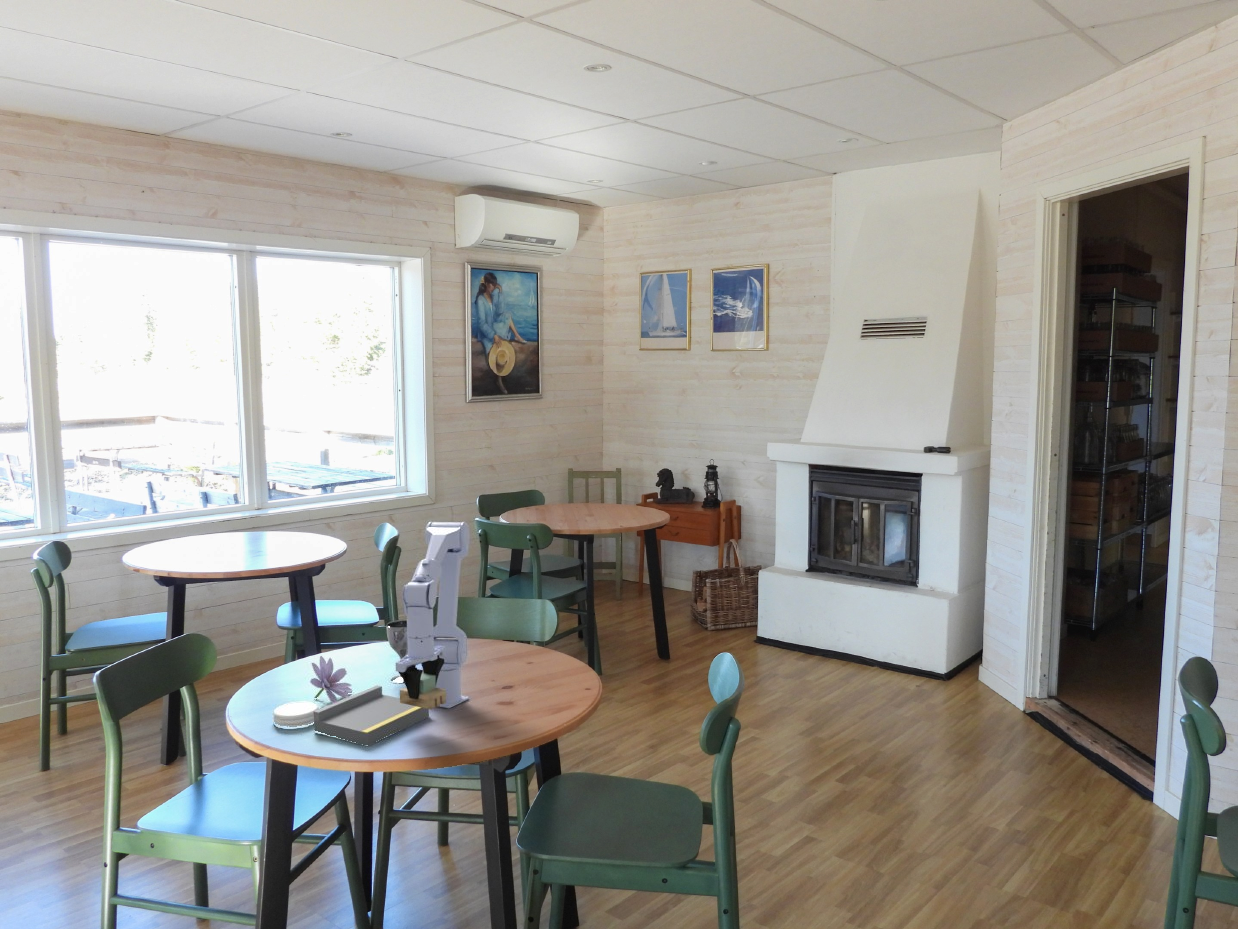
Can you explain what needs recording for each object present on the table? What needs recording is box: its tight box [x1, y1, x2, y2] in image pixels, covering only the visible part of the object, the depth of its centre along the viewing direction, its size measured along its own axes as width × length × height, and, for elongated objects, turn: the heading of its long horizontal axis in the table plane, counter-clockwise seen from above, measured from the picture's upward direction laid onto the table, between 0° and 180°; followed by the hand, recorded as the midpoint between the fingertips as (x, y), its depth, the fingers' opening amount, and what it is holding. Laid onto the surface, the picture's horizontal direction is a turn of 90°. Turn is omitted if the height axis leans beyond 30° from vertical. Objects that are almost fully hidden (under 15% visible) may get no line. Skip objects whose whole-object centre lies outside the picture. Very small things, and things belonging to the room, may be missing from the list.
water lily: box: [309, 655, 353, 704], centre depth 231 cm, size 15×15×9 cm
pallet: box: [399, 686, 446, 710], centre depth 210 cm, size 9×5×3 cm, turn 61°
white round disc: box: [272, 701, 320, 727], centre depth 217 cm, size 10×10×4 cm
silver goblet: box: [386, 619, 408, 683], centre depth 246 cm, size 8×8×15 cm
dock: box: [313, 685, 430, 746], centre depth 215 cm, size 16×20×5 cm
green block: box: [419, 673, 436, 694], centre depth 210 cm, size 4×4×3 cm
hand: (422, 694), depth 210 cm, fingers closed on pallet, 5 cm apart
